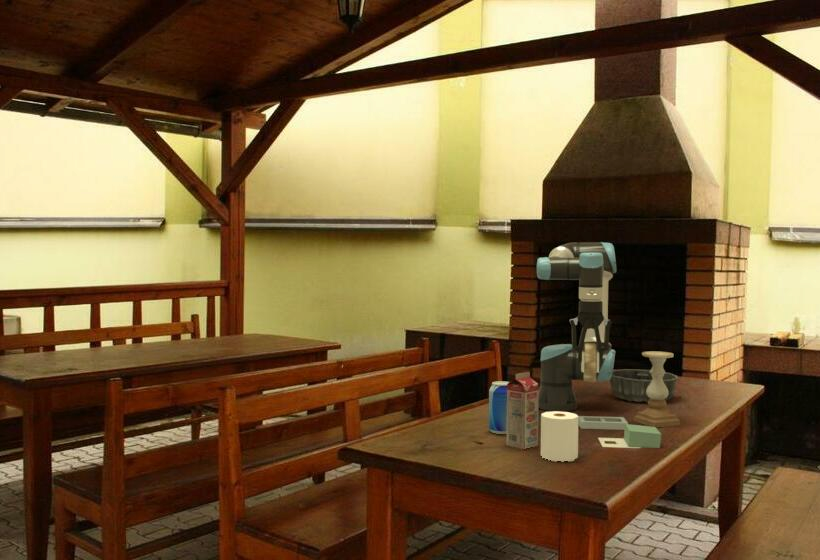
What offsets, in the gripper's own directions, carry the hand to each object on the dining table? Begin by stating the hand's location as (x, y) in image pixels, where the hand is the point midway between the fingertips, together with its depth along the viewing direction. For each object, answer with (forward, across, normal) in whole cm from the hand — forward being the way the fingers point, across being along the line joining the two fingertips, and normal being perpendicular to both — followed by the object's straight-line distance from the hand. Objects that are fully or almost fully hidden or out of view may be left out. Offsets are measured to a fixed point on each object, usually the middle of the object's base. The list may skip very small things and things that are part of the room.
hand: (589, 371), depth 247 cm
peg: (+3, 0, 0) cm, 3 cm away
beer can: (+19, -28, -9) cm, 35 cm away
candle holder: (+20, +24, +11) cm, 33 cm away
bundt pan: (+21, +26, +54) cm, 64 cm away
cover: (+18, +13, -19) cm, 29 cm away
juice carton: (+18, -22, -25) cm, 38 cm away
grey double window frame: (+19, +5, +3) cm, 20 cm away
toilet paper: (+18, -12, -36) cm, 42 cm away
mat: (+19, +7, -19) cm, 27 cm away
